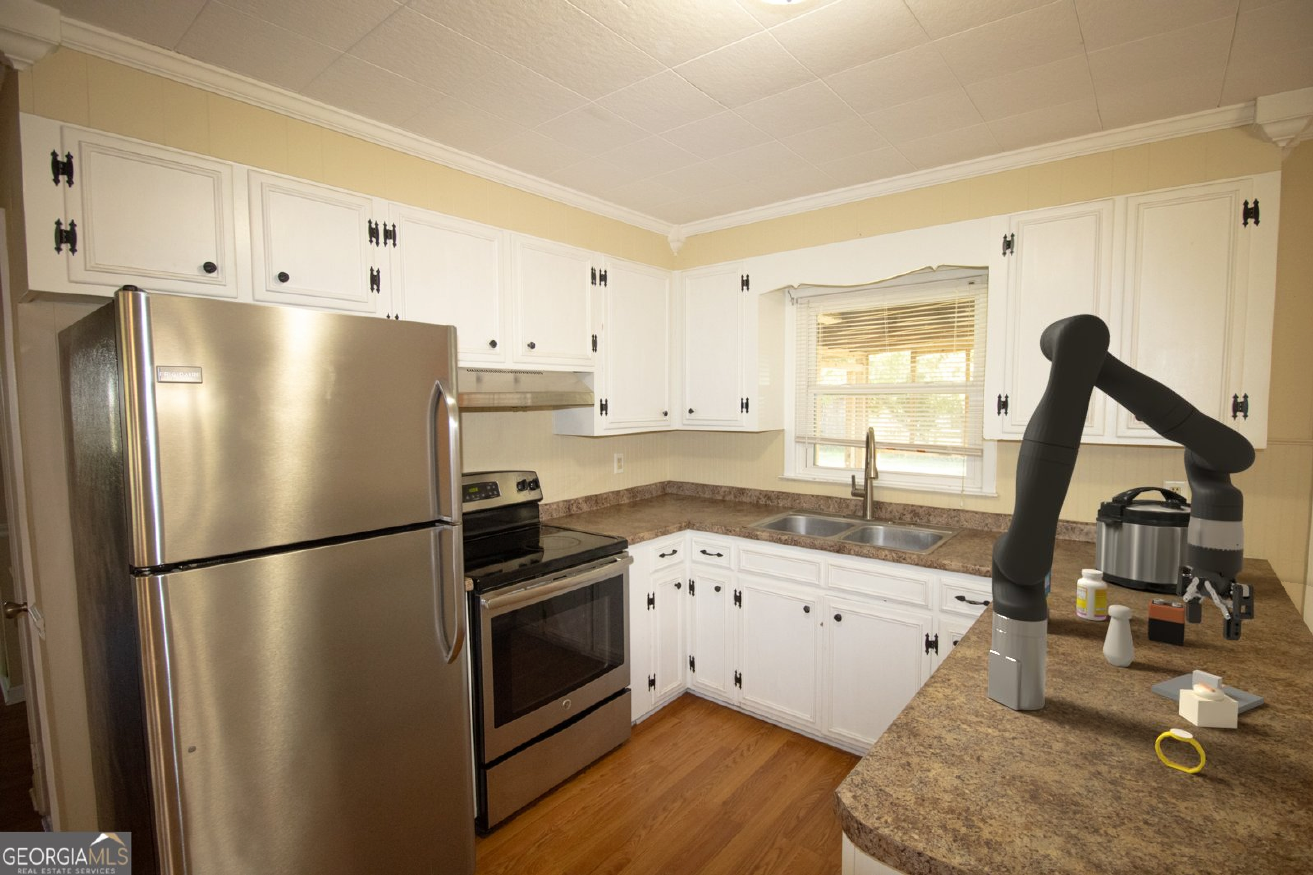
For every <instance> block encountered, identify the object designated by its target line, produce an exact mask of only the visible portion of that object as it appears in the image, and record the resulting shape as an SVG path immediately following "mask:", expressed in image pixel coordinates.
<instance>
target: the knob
mask: <svg viewBox="0 0 1313 875" xmlns="http://www.w3.org/2000/svg"><path fill="white" fill-rule="evenodd" d="M1178 703H1179V706H1178V707H1179V708H1178V714H1179V715H1180V716H1181V717H1182V718H1184V719H1185V720H1187V721H1188V722H1190V723H1192V724H1193V725H1194V726H1196V727H1199V728H1200V727H1201V728H1221V729H1222V728H1223V729H1224V728H1226V729H1238V716H1239V714H1238V702H1237V701H1235V700H1233V699H1232V698H1230V697H1228V696H1226V695H1225V694H1224V691H1222V690H1221V689H1219V688H1216V687H1213V686H1209V685H1206V684H1204V683H1202V682H1199V684H1195V685H1194V687H1193V690H1184V689H1180V702H1178Z"/></svg>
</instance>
